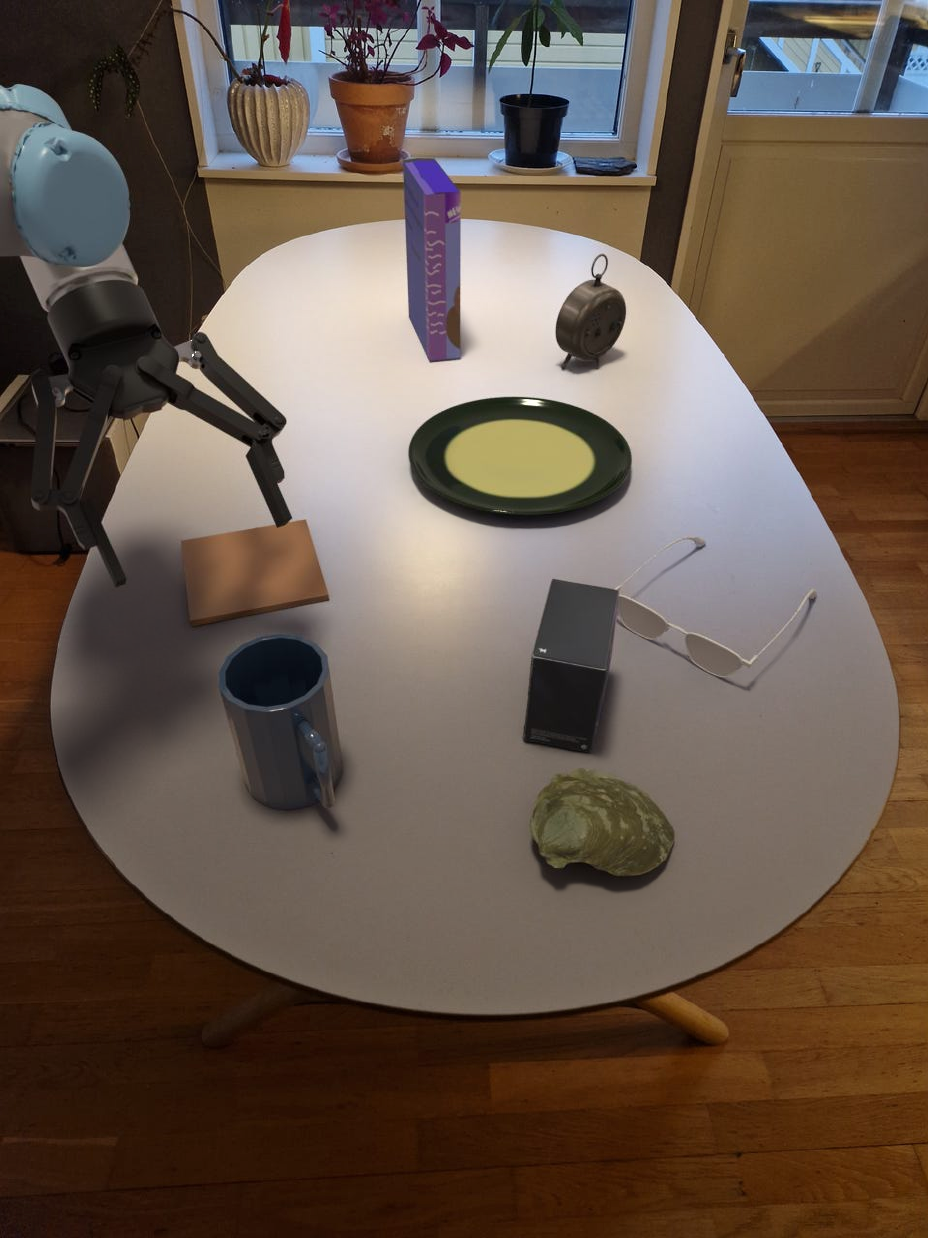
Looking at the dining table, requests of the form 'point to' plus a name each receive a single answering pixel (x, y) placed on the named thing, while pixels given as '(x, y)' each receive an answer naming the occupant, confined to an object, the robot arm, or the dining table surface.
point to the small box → (570, 665)
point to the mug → (283, 720)
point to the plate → (519, 455)
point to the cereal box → (433, 257)
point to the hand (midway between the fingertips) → (206, 552)
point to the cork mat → (251, 572)
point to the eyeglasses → (698, 646)
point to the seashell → (600, 824)
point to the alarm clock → (590, 319)
